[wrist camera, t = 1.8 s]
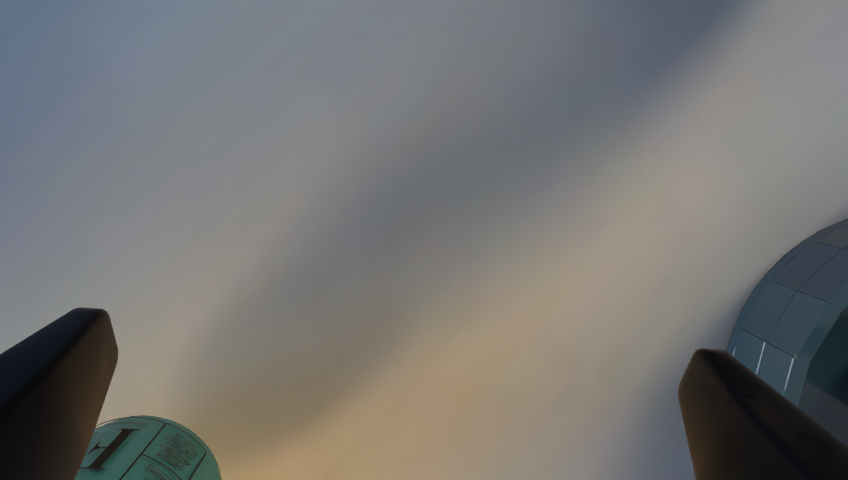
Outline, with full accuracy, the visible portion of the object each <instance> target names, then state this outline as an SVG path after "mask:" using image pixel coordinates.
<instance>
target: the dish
mask: <svg viewBox="0 0 848 480" xmlns="http://www.w3.org/2000/svg"><path fill="white" fill-rule="evenodd" d="M726 352H728V353H729V354H731V355H732V356H733V357H734V358H736V359H737V360H738V361H739V362H741V363H742V364H743V365H745V366H746V367H747V368H748V369H750V370H751V371H752V372H753V373H755V374H756V375H757V376H758V377H760V378H761V379H762V380H764V381H765V382H766V383H767V384H769V385H770V386H771V387H772V388H774V389H775V390H776V391H777V392H779V393H780V394H781V395H783V396H784V397H785V398H786V399H788V400H789V401H790V402H791V403H793V404H794V405H795V406H796V407H798V408H799V409H800V410H802V411H803V412H804V413H805V414H807V415H808V416H809V417H810V418H812V419H813V420H814V421H815V422H817V423H818V424H819V425H821V426H822V427H823V428H824V429H826V430H827V431H828V432H829V433H831V434H832V435H833V436H834V437H836V438H837V439H838V440H840V441H841V442H842V443H843V444H845V445H846V446H847V447H848V219H846V220H844V221H841V222H839V223H837V224H835V225H832V226H830V227H828V228H825V229H823V230H822V231H820V232H818V233H817V234H815V235H813V236H812V237H810V238H808V239H806V240H805V241H803V242H802V243H801V244H799V245H798V246H797V247H796V248H794V249H793V250H792V251H790V252H789V253H788V254H786V255H785V256H784V257H783V258H782V259H781V260H780V261H779V262H778V263H777V264H776V265H775V266H774V267H773V268H772V269H771V270H770V271H769V272H768V273H767V275H766V276H765V277H764V278H763V279H762V281H761V282H760V283H759V284H758V286H757V287H756V288H755V290H754V291H753V293H752V294H751V296H750V298H749V299H748V301H747V302H746V304H745V306H744V307H743V309H742V311H741V313H740V316H739V318H738V320H737V322H736V324H735V326H734V328H733V332H732V335H731V338H730V341H729V344H728V347H727V351H726Z"/></svg>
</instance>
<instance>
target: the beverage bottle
mask: <svg viewBox="0 0 848 480" xmlns="http://www.w3.org/2000/svg"><path fill="white" fill-rule="evenodd" d="M114 420H116V421H113V422H111V423H108V424H106V425H104V426H102V427H99V428H96V429H95V430H94V432H93V435H92V438H91V441H90V444H89V447H88V449H87V452H86V455H85V457H84V460H83V462H82V464H81V466H80V469H79V471H78V473H77V475H76V477H75V479H74V480H222V479H221V474H220V470H219V467H218V464H217V461H216V459H215V457H214V455H213V454H212V452H211V451H210V449H209V448H208V446H207V445H206V444H205V443H204V442H203V441H202V440H201V439H200V438H199V437H198V436H197V435H196V434H195V433H193V432H192V431H190V430H189V429H188V428H186V427H184V426H182V425H180V424H178V423H176V422H173V421H171V420H168V419H164V418H160V417H154V416H131V417H125V418H119V420H117V419H114ZM110 421H112V420H110ZM107 422H109V421H107ZM104 423H106V422H104ZM101 424H103V423H101ZM99 425H100V424H99ZM97 426H98V425H97Z"/></svg>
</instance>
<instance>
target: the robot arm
mask: <svg viewBox="0 0 848 480" xmlns="http://www.w3.org/2000/svg"><path fill="white" fill-rule="evenodd" d="M117 360H118V348H117V344H116V340H115V336H114V332H113V328H112V324H111V320H110V317H109V314H108V313H107V311H105V310H103V309H95V308H76V309H74V310H72V311H70V312H68V313H67V314H65V315H63V316H62V317H60V318H59V319H57V320H55V321H54V322H52V323H50V324H49V325H47V326H46V327H44V328H42V329H41V330H39V331H37V332H36V333H34V334H33V335H31V336H29V337H28V338H26V339H24V340H23V341H21V342H20V343H18V344H16V345H15V346H13V347H11V348H10V349H8V350H7V351H5V352H3V353H2V354H0V480H74V479H75V477H76V475H77V473H78V471H79V469H80V466H81V464H82V462H83V460H84V457H85V455H86V452H87V449H88V447H89V444H90V441H91V438H92V435H93V432H94V430H95V427H96V424H97V421H98V418H99V415H100V412H101V409H102V406H103V403H104V400H105V397H106V394H107V391H108V388H109V385H110V382H111V379H112V376H113V374H114V371H115V368H116V364H117ZM678 397H679V403H680V408H681V412H682V417H683V421H684V426H685V431H686V435H687V440H688V445H689V449H690V454H691V458H692V463H693V468H694V472H695V477H696V480H848V447H847V446H846V445H845V444H843V443H842V442H841V441H840V440H838V439H837V438H836V437H834V436H833V435H832V434H831V433H829V432H828V431H827V430H826V429H824V428H823V427H822V426H821V425H819V424H818V423H817V422H815V421H814V420H813V419H812V418H810V417H809V416H808V415H807V414H805V413H804V412H803V411H802V410H800V409H799V408H798V407H796V406H795V405H794V404H793V403H791V402H790V401H789V400H788V399H786V398H785V397H784V396H783V395H781V394H780V393H779V392H777V391H776V390H775V389H774V388H772V387H771V386H770V385H769V384H767V383H766V382H765V381H764V380H762V379H761V378H760V377H758V376H757V375H756V374H755V373H753V372H752V371H751V370H750V369H748V368H747V367H746V366H745V365H743V364H742V363H741V362H739V361H738V360H737V359H736V358H734V357H733V356H732V355H731V354H729V353H728V352H726V351H724V350H719V349H704V348H702V349H698V350H697V351H696V352H694V354H693V356H692V358H691V360H690V362H689V365H688V367H687V369H686V371H685V373H684V375H683V378H682V380H681V382H680V385H679V390H678Z"/></svg>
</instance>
